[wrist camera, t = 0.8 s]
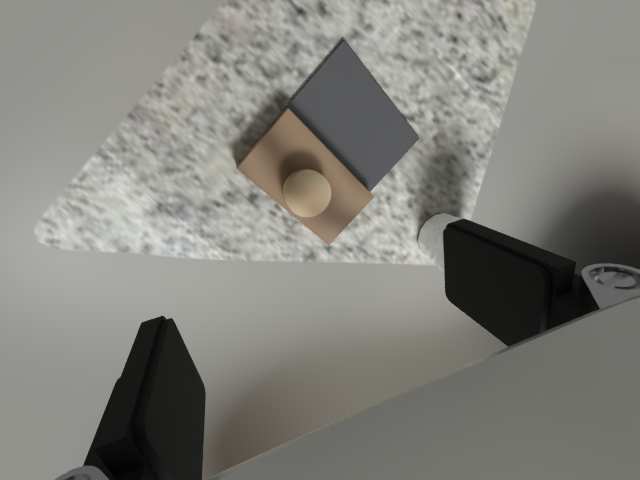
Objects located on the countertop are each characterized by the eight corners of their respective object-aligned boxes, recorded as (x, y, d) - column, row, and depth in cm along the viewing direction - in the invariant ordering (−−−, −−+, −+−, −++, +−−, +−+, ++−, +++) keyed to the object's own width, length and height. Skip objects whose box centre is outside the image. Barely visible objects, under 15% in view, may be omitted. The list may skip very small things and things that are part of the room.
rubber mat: (343, 40, 33) (344, 40, 32) (418, 138, 39) (419, 138, 38) (285, 108, 33) (285, 108, 33) (367, 192, 40) (368, 193, 39)
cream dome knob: (303, 158, 34) (308, 161, 32) (334, 188, 36) (340, 192, 34) (273, 192, 35) (275, 197, 33) (305, 220, 37) (309, 226, 35)
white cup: (464, 204, 44) (524, 228, 36) (459, 254, 48) (513, 288, 39) (414, 213, 43) (464, 241, 34) (412, 264, 46) (457, 302, 37)
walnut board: (285, 108, 33) (288, 108, 32) (367, 192, 40) (374, 196, 38) (236, 165, 34) (236, 168, 33) (324, 239, 41) (328, 245, 39)
